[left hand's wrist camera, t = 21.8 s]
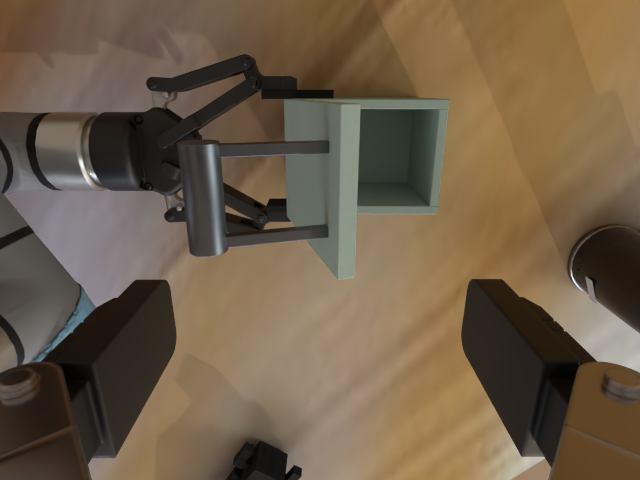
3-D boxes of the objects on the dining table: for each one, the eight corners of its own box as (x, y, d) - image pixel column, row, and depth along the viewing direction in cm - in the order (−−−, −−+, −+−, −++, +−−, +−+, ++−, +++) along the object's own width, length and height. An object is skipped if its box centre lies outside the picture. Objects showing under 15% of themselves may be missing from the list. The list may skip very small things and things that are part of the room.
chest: (419, 97, 45) (449, 99, 34) (412, 187, 48) (437, 214, 38) (297, 97, 45) (290, 98, 34) (299, 187, 48) (293, 213, 38)
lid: (360, 103, 21) (170, 104, 19) (354, 277, 25) (193, 299, 22) (296, 99, 34) (177, 99, 31) (298, 215, 37) (191, 224, 35)
